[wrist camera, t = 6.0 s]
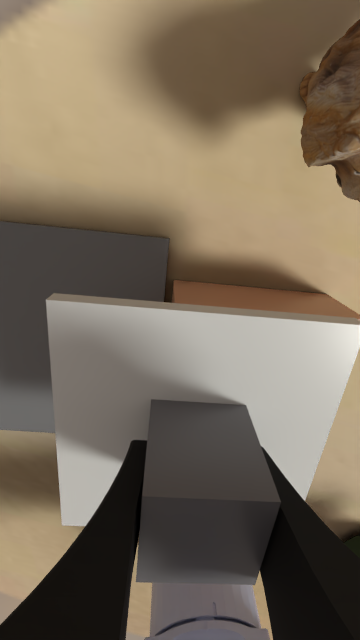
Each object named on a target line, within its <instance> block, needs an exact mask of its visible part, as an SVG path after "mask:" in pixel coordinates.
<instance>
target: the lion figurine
mask: <svg viewBox="0 0 360 640" xmlns="http://www.w3.org/2000/svg"><path fill="white" fill-rule="evenodd" d="M300 96H301V97H302V99H303V100H304V102H306V107H307V112H306V114H305V115H304V118H303V126H302V129H301V134H302V138H301V147H302V149H303V158H304V161H305V163H306V164H307V165H308V167H310V166H323V165H327V164H331V165H332V166H334V167H335V169H336V178H337V183H338V185H339V186H340V187H341V188H342V192H343V194H344V195H345V196H346V197H348V198H350V199H354V200H358V201H359V202H360V20H358V21H357V22H356V23H355V24H354V25H353V26H352V27H350V28H349V29H348V31H347V32H346V34H345V35H344V36H343V37H342V38H340V39H339V40H338V41H337V42H336V43H335V44H333V45H332V46H331V47H330V48H329V50H328V51H327V53H326V54H325V56H324V57H323V59H322V61H321V63H320V66H319V70H318V71H317V72H311V73H308V74H307V75H306V76H305V77H304V78H303V80H302V82H301V85H300Z"/></svg>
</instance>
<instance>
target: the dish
mask: <svg viewBox="0 0 360 640" xmlns="http://www.w3.org/2000/svg"><path fill="white" fill-rule="evenodd" d="M171 303H180V304H192V305H204V306H217V307H229V308H241V309H253V310H265V311H277V312H290V313H302V314H314V315H326V316H338V317H350V318H356V319H358V320H359V321H360V315H359V314H358V313H356V312H355V311H353V310H351V309H350V308H348V307H347V306H345V305H343V304H342V303H340V302H339V301H337V300H335V299H334V298H332V297H331V296H329V295H327V294H320V293H309V292H298V291H288V290H277V289H266V288H256V287H245V286H234V285H224V284H213V283H202V282H191V281H181V280H174V282H173V292H172V302H171Z"/></svg>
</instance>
